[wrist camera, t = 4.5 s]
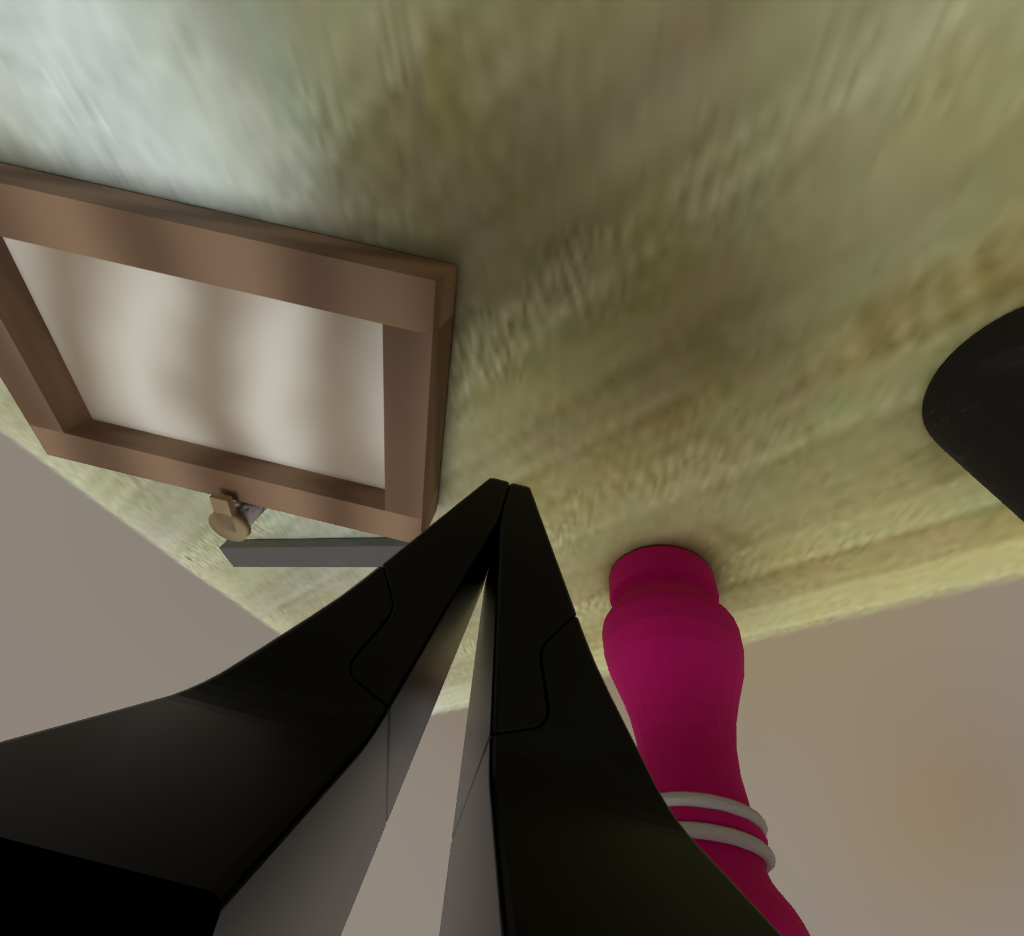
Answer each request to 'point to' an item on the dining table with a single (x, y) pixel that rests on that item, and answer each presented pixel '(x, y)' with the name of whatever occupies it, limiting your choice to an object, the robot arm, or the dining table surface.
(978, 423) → the travel mug
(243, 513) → the screw post
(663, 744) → the pepper mill
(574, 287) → the dining table surface
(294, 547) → the strip
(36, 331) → the picture frame
